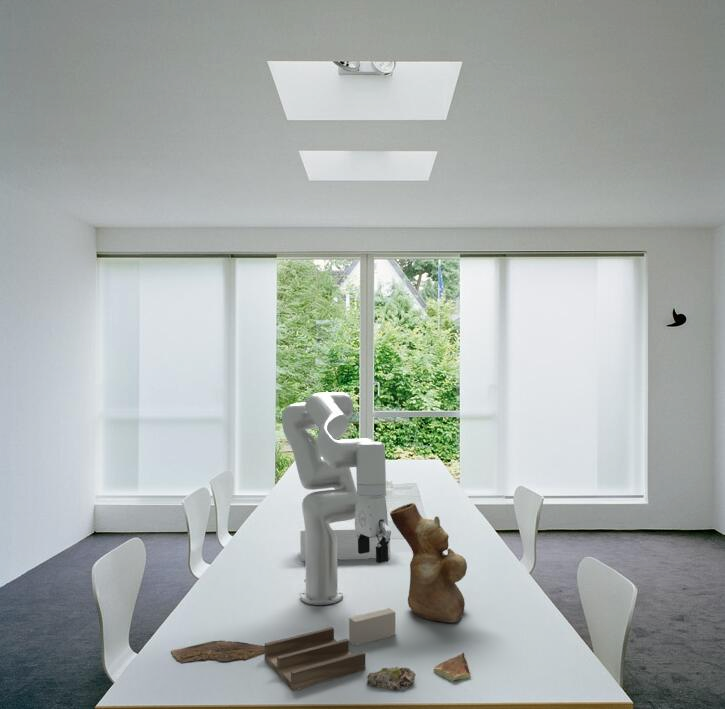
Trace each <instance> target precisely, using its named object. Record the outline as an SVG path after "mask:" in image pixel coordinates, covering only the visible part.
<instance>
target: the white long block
mask: <svg viewBox="0 0 725 709" xmlns="http://www.w3.org/2000/svg"><path fill="white" fill-rule="evenodd" d="M329 525H330V527H331V529H332V530H333V531H334V532H335V534H336V536H337V559H339V560H369V559H368V558H375V559H376V546H377V543H376V541H375V538H374V537H373V538H369V542H370V552H368V553H363V554H359V553H358V537H357V531H356V530H355V521H339V522H333V523H330V524H329ZM388 528H389V529H390V530H391V528H390V525H389V524H388ZM299 531H300V537H299V538H300V545H299V546H300V562H301V561H303V562H304V561H306V545H305V523H304V522H302V523H301V522H300V530H299ZM379 539H380V541H381V539H382V537H381V538H379ZM388 559H391V540H390V541H389V546H388Z"/></svg>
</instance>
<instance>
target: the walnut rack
mask: <svg viewBox="0 0 725 709" xmlns="http://www.w3.org/2000/svg"><path fill="white" fill-rule="evenodd" d="M264 646H265V653H264V660H265V661H266V662H267V663H268V664H269V666H270V667H271V668H272V669H273V670H274V671H275V673H277V675H278V676H279V677H280V678H281V679H282V681H284V683H286V685H287V686H288V687H289V688H290V689H291V690H292V691H297V690H299V689H304V688H307V687H310V686H315V685H317V684H321V683H325V682H327V681H331V680H334V679H338V678H341V677H344V676H349V675H353V674H355V673H358V672H362V671H365V670H366V652H364V650H362V651H359V652H355V653H352V652H351V651H350V641H349V638H343V639H339V640H336V638H335V628H334V627H332V626H331V627H326V628H322V629H319V630H318V629H317V630H314V631H310V632H306V633H302V634H297V635H293V636H288V637H286V638H282V639H277V640H273V641H268V642H265V643H264Z"/></svg>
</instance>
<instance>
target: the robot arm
mask: <svg viewBox="0 0 725 709" xmlns="http://www.w3.org/2000/svg"><path fill="white" fill-rule="evenodd" d="M353 412H354V401H353V399H352V398H351V396H350V395H349V394H348V393H346V392H344V391H343V392H342V391H331V392H330V391H329V392H316V393H313V394H311V395H309V396H308V398H306V401H305V402H297V403H292V404H289V405H288V406H287V405H286V407H284V409H283V411H282V415H281V425H282V430H283V433H284V436H285V438H286V440H287V442H288V444H289V447H290V448H291V451H292V452H293V457H294V461H295V465H296V470H297V473H298V476H299V481H300V484H301V485H302V487H303V488H304V489H306V490H309V491H310V490H312V491H313V492H310V493H308V494H307V495H306V496H304V498H303V500H302V503H301V510H302V516H303V523H305V545H306V560H305V579H304V583H305V589H303V590H302V591H301V592H300V595H299V596H300V600H301V601H302V602H304V603H306V604H309V605H315V606H324V605H326V606H328V605H332V604H335V603H338V602H339V601H341V600H342V599H343V597H344V596H343V590H342V589H340V588H338V560H337V536H336V534H335V532H334V531H333V530H332V529H331V527H330V525H329V524H330V523H333V522H347V521H350V520H354V522H355V530H356V531H357V537H358V553H359V554H363V553H368V552H370V542H369V538H373V537H374V538H375V541H376V543H377V546H376V558H375V562H376V563H377V564H380V563H381V564H383V563H388V561H389V558H388V546H389V541H390V542H391V534H392V531H391V528H390V527H389V528H390V529H389V528H388V525H389V524H388V522H389V519H388V518H389V517H388V507H387V500H386V496H387V483H386V482H387V480H386V479H387V478H386V477H387V476H386V474H387V473H386V448H385V444H384V443H383V442H381V441H379V440H378V441H376V440H375V441H374V440H373V439H371V438H369V437H363V438H362V437H361V438H345V439H340V438H341V437H342V436H344V434H345V433H346V432H347V431H348V430H349V429H348V428H349V423H350V422H349V419H350V418H351V417H352V415H353ZM316 429H318V432H317V437H316V438H315V437H314V436H313V435H312V434H310V433H309V432H308V431H307V430H316ZM351 468H356V469H355V470H356V471H355V472H356V486H355V482H354V481H355V480H354V478H353V474H352V472H351ZM332 488H333V489H332ZM325 489H327V490H325ZM314 490H317V491H314ZM381 537H382V539H381V541H380V539H379V538H381Z"/></svg>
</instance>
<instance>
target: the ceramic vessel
mask: <svg viewBox="0 0 725 709" xmlns="http://www.w3.org/2000/svg"><path fill="white" fill-rule="evenodd" d="M389 515H390V517H391V518H390V519H391V520H392V522H393V525H394V526H395V528H396V529H397V530H398V532H399V533H400V534H401V536H402V537H403V539H404V540H405V541H406V543H407V544H408V546H409V547H410V549H411V551H412V558H411V561H410V564H409V569H410V572H409V573H410V575H409V577H410V580H409V590H408V596H407V604H408V607H409V609H410V610H411V611H412V612H413V613H414V614H415V615H417V616H419V617H421V618H423V619H425V620H430V621H436V622H444V623H457V622H459V621H460V620H461V619H462V617H463V615H464V611H465V603H466V602H465V597H464V595H463V593H462V591H461V590H460V588H459V587H458V586H457V584H456V583H457V582H460V581H461V580H462V579H463V578H464V577H465V576H466V573H467V569H468V566H467V565H468V564H467V561H466V559H465V558H464V557H463V556H462V555H460V554H458V553H456V552H455V551H454V550H452V549H451V548H449V537H450V536H449V534H448V533H447V532H446V531H445V530H444V528H443V527H442V526H441V521H440V517H439V516H434V519H429V518H425V517H423V516H422V515H421V514H420V511H419V509H418V507H417V505H416V503H413V502H410V503H407V504H404V505H401V506H398V507H397V508H395V509H392V510H391V511H390V512H389ZM446 551H447V553H446V554H445V553H444V552H446Z"/></svg>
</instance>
